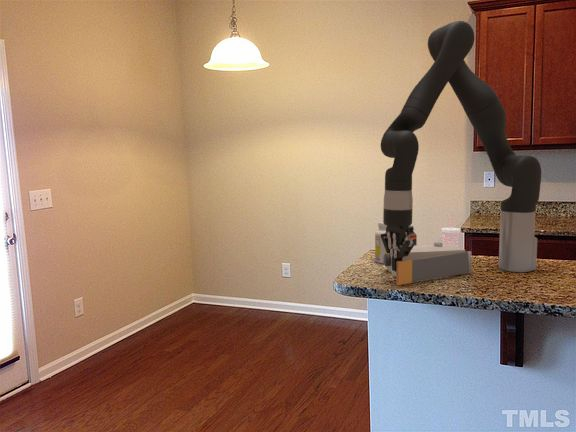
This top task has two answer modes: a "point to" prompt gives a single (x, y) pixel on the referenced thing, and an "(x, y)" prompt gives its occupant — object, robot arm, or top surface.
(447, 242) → the beverage cup
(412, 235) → the supplement bottle
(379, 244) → the supplement bottle
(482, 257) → the top surface
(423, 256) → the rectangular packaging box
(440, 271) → the side door
